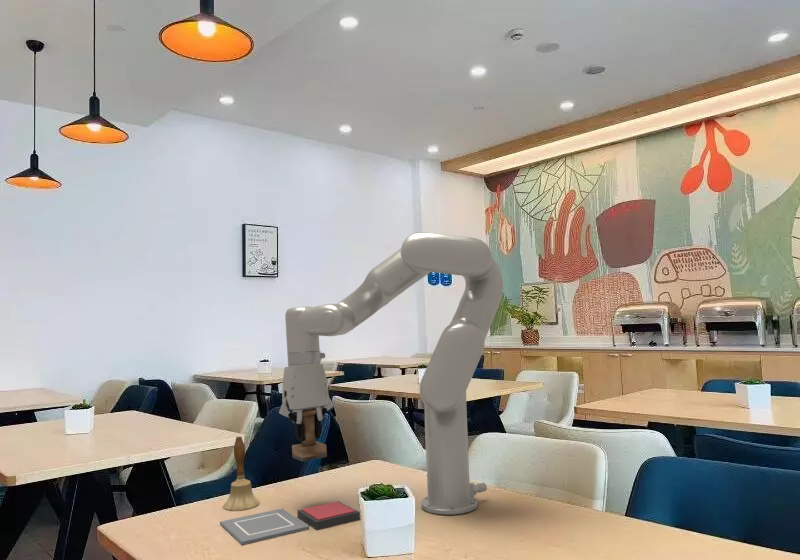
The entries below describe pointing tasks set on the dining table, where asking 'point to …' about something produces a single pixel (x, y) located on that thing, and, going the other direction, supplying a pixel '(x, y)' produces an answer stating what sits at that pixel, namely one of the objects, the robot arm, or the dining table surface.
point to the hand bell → (240, 484)
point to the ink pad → (328, 515)
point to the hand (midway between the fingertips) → (308, 438)
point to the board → (263, 526)
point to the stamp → (309, 440)
